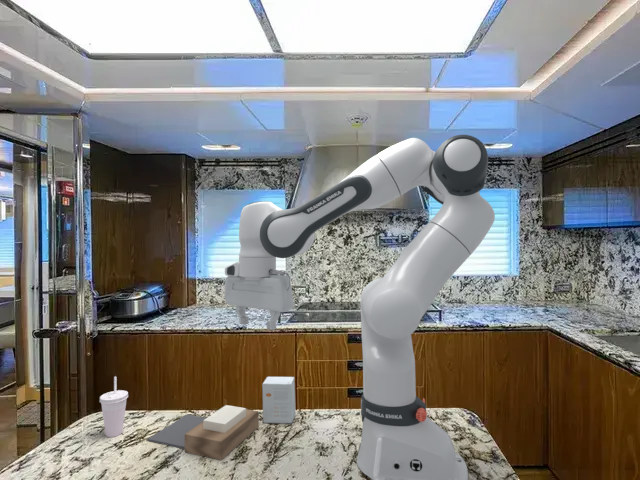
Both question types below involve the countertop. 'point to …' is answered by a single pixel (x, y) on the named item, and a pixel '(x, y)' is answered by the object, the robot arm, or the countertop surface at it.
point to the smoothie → (114, 410)
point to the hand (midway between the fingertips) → (257, 326)
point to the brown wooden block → (220, 437)
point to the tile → (224, 418)
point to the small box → (278, 399)
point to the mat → (177, 431)
